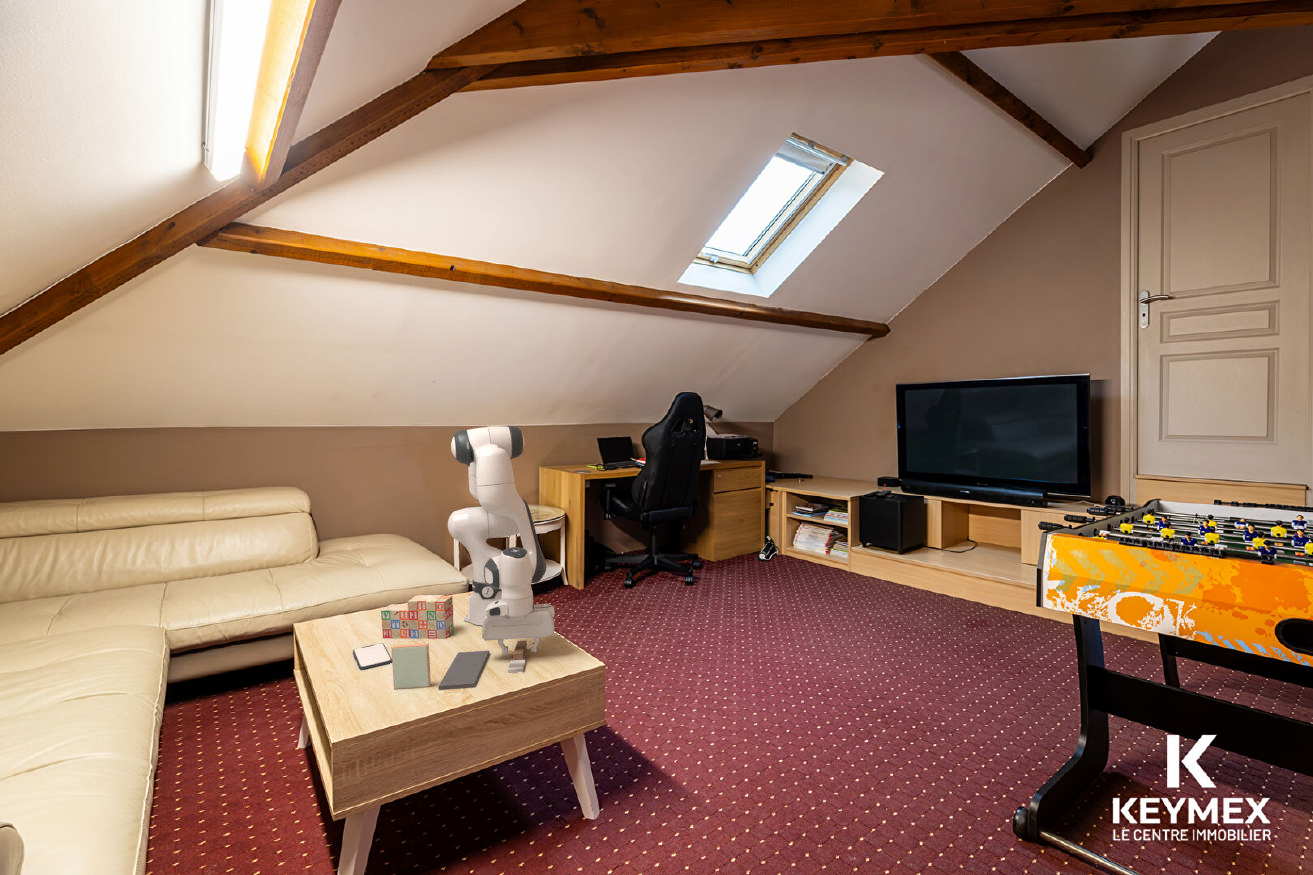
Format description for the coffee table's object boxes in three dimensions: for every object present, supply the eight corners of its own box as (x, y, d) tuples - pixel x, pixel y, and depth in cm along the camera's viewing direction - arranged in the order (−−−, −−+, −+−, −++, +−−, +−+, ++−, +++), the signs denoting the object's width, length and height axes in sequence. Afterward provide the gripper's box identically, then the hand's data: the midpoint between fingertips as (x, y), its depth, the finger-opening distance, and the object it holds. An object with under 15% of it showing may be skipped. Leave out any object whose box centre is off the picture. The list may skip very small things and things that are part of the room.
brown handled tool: (515, 650, 185) (515, 641, 184) (529, 649, 185) (528, 640, 185) (507, 673, 169) (507, 663, 169) (522, 672, 169) (522, 662, 169)
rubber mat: (458, 655, 182) (458, 652, 182) (489, 653, 183) (489, 650, 183) (438, 689, 160) (438, 685, 160) (474, 687, 161) (474, 683, 161)
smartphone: (393, 665, 179) (383, 647, 192) (393, 659, 178) (383, 642, 192) (359, 673, 174) (352, 654, 187) (359, 667, 174) (351, 649, 187)
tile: (395, 686, 163) (393, 645, 162) (430, 684, 164) (428, 643, 163) (393, 689, 161) (391, 647, 161) (429, 686, 162) (427, 645, 162)
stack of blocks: (382, 638, 198) (379, 600, 198) (392, 631, 205) (390, 594, 204) (446, 639, 196) (444, 600, 196) (454, 631, 203) (452, 594, 202)
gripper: (554, 599, 182) (556, 645, 183) (483, 603, 180) (486, 650, 181) (553, 606, 176) (555, 654, 177) (479, 610, 174) (481, 659, 175)
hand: (519, 652), depth 179 cm, fingers open, 7 cm apart
